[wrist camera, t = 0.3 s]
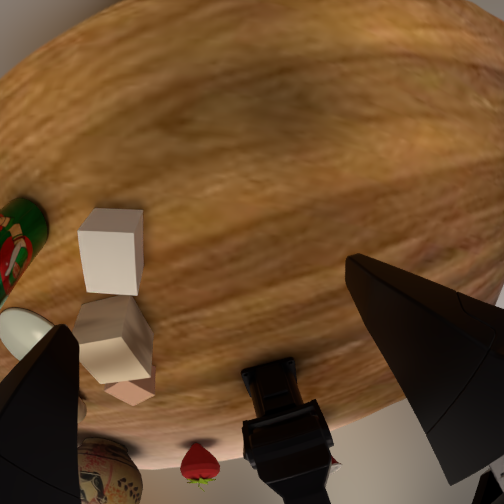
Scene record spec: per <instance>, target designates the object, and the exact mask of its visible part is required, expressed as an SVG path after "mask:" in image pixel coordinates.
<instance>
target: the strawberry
mask: <svg viewBox="0 0 504 504" xmlns="http://www.w3.org/2000/svg"><path fill="white" fill-rule="evenodd" d="M180 470H181V473H182V475H183V476H184V477H185V478H187V480H190V481H191V482H187V483H197V482H198V483H203V484H208V481H213V480H216V479H212V478H213V477H215V476H216V475H217V474H218V473H219V471H220V465H219V463H218V461H217V460H216V458H215V457H214V456H213V455H212V454H211V453H210V452H209V451H207V450H206V449H205V448H203V447H202V446H201V445H200V444H198V443H195V444H193V445H192V446H191V448H190V449H189V451H188V452H187V453H186V455H185V457H184V458H183V460H182V463H181V468H180ZM201 489H202V488H201ZM202 490H203V489H202ZM203 491H204V490H203Z"/></svg>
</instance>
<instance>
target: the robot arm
mask: <svg viewBox="0 0 504 504" xmlns="http://www.w3.org/2000/svg"><path fill="white" fill-rule="evenodd" d="M345 282H346V285H347V288H348V290H349V292H350V294H351V296H352V298H353V300H354V302H355V305H356V307H357V309H358V311H359V313H360V315H361V318H362V320H363V322H364V324H365V326H366V328H367V329H368V331H369V333H370V334H371V336H372V338H373V339H374V341H375V343H376V345H377V346H378V348H379V350H380V351H381V353H382V355H383V356H384V358H385V360H386V362H387V363H388V365H389V367H390V369H391V370H392V372H393V374H394V376H395V378H396V379H397V381H398V383H399V385H400V387H401V388H402V390H403V392H404V394H405V396H406V398H407V399H408V401H409V403H410V405H411V407H412V409H413V411H414V413H415V414H416V416H417V418H418V420H419V422H420V424H421V426H422V428H423V430H424V432H425V434H426V436H427V438H428V440H429V442H430V444H431V447H432V449H433V451H434V453H435V455H436V457H437V459H438V461H439V463H440V465H441V468H442V470H443V472H444V474H445V476H446V479H447V481H448V483H449V484H450V486H452V485H454V484H456V483H458V482H459V481H461V480H463V479H465V478H467V477H469V476H471V475H472V474H474V473H476V472H478V471H479V470H481V469H483V468H484V467H486V466H487V465H489V467H490V469H488V470H487V471H486V472H485V473H483V474H482V475H481V477H480V480H479V484H478V487H477V490H476V493H475V496H474V499H473V502H472V504H504V309H502V308H499V307H496V306H494V305H491V304H488V303H485V302H482V301H480V300H477V299H475V298H472V297H470V296H467V295H465V294H463V293H460V292H456V291H455V290H453V289H450V288H448V287H445V286H443V285H440V284H438V283H436V282H433V281H431V280H428V279H425V278H423V277H420V276H418V275H415V274H413V273H410V272H408V271H405V270H402V269H400V268H397V267H395V266H392V265H389V264H387V263H384V262H381V261H379V260H376V259H373V258H371V257H368V256H365V255H363V254H360V253H357V254H354V255H350V256H348V257H347V258H346V263H345ZM79 354H80V346H79V342H78V340H77V339H76V338H75V336H74V335H73V333H72V332H71V331H70V329H69V328H68V326H67V325H65V324H59V325H55V326H53V327H52V328H51V329H50V330H49V331H48V332H47V333H46V334H45V335H44V336H43V337H42V338H41V339H40V340H39V341H38V342H37V344H36V345H35V346H34V347H33V348H32V349H31V350H30V351H29V352H28V353H27V354H26V355H25V356H24V357H23V358H22V359H21V360H20V362H19V363H18V364H17V365H16V366H15V367H14V368H13V369H12V370H11V371H10V373H9V374H8V375H7V376H6V377H5V378H4V379H3V380H2V382H1V383H0V504H82V501H81V494H80V484H79V470H78V441H77V431H78V401H79ZM241 376H242V378H243V381H244V383H245V386H246V388H247V390H248V393H249V395H250V397H252V400H253V405H254V409H255V413H256V417H257V418H256V419H252V420H245V421H243V427H242V433H243V440H244V448H243V456H244V459H246V460H248V461H249V462H250V464H251V466H252V468H253V469H257V471H258V475H259V478H260V479H261V480H262V481H263V482H264V483H266V484H267V485H268V486H269V487H270V488H271V489H273V490H274V491H275V492H276V493H277V494H279V495H280V496H281V497H282V498H283V501H284V504H331V503H330V500H329V497H328V494H327V491H326V489H325V487H326V483H327V480H328V477H329V473H330V469H331V466H332V456H331V453H330V450H329V448H330V447H332V446H334V443H333V439H332V436H331V433H330V430H329V428H328V425H327V423H326V421H325V418H324V416H323V414H322V412H321V410H320V407H319V405H318V403H317V401H316V399H314V400H311V401H310V402H307V403H305V404H304V403H303V400H302V397H301V395H300V392H299V389H298V386H297V377H296V369H295V361H294V359H293V358H287V359H284V360H280V361H277V362H273V363H270V364H266V365H262V366H258V367H255V368H251V369H247V370H243V371H242V372H241Z"/></svg>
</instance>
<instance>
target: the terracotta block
mask: <svg viewBox="0 0 504 504" xmlns="http://www.w3.org/2000/svg"><path fill="white" fill-rule="evenodd" d="M155 371H156V367H155V366H153V365H152V366H151V377H150V378H144V379H137V380H129V381H122V382H114V383H105V389H104V391H105V392H107V393H109V394H111V395H112V396H114V397H116V398H118V399H120V400H122V401H124V402H126V403H128V404H130V405H132V406H134V405H136V404H138V403H140V402H142V401H144V400H146V399H148V398H150V397H152V396H154V395H155Z"/></svg>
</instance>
